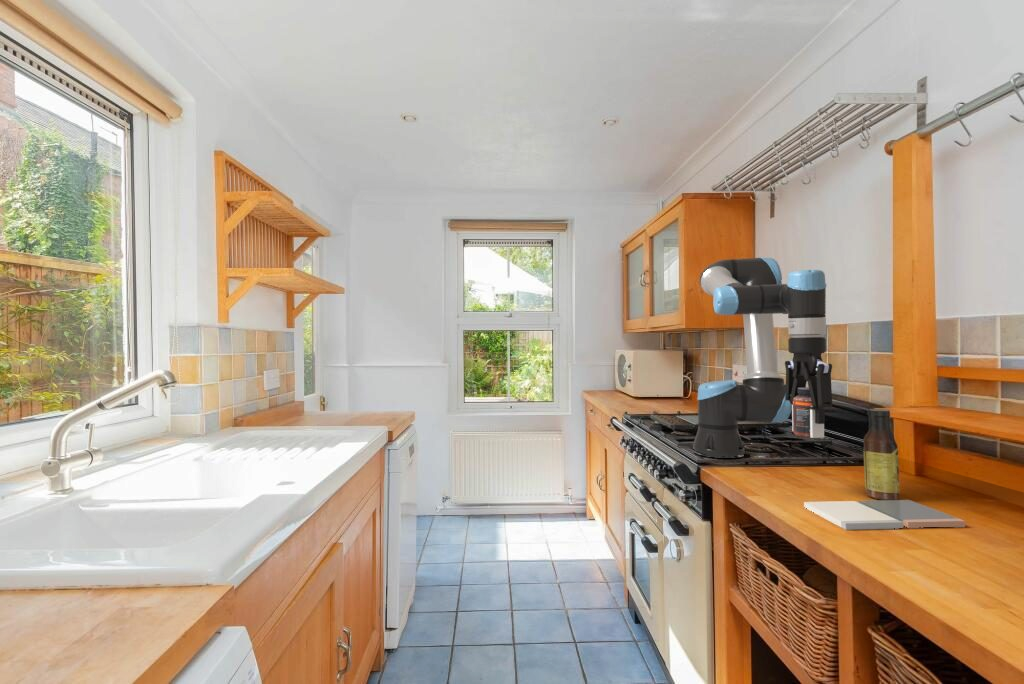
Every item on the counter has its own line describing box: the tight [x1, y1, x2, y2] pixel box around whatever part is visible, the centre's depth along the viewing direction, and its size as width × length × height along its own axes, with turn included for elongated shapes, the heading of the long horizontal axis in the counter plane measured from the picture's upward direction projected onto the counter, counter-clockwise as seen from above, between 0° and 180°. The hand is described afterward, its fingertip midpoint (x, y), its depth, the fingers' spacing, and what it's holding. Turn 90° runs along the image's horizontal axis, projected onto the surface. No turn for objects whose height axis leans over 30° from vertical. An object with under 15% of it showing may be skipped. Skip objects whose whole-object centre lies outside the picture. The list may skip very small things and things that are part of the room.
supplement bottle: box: [792, 386, 813, 439], centre depth 111 cm, size 6×6×11 cm
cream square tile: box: [803, 500, 904, 531], centre depth 95 cm, size 12×11×1 cm
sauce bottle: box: [862, 408, 901, 500], centre depth 107 cm, size 6×6×20 cm
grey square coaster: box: [858, 499, 966, 529], centre depth 95 cm, size 12×11×1 cm
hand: (807, 434), depth 111 cm, fingers closed on supplement bottle, 6 cm apart
